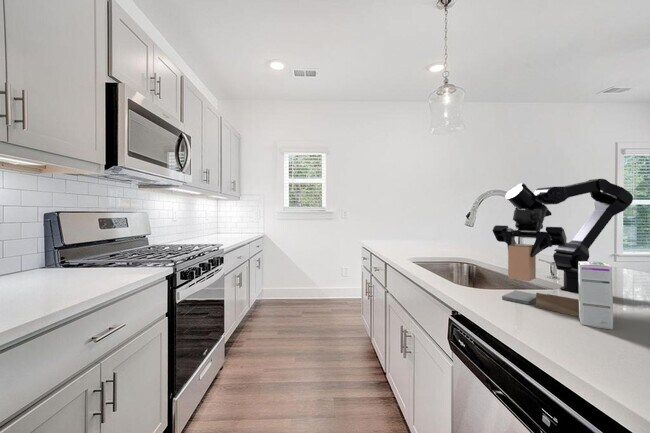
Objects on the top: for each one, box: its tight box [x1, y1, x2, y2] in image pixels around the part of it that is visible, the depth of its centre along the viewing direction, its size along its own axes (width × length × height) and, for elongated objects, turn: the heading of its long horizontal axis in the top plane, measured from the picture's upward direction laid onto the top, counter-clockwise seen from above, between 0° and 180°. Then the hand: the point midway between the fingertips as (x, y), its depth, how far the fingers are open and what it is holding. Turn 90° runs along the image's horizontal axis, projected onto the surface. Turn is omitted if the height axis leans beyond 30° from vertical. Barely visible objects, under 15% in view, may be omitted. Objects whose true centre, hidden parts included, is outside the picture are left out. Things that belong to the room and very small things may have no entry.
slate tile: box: [501, 290, 536, 306], centre depth 90 cm, size 10×7×1 cm
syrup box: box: [578, 260, 614, 331], centre depth 70 cm, size 6×6×14 cm
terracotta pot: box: [507, 243, 537, 282], centre depth 90 cm, size 6×6×10 cm
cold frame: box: [535, 292, 579, 317], centre depth 81 cm, size 10×10×4 cm
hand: (520, 255), depth 89 cm, fingers closed on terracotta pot, 5 cm apart
